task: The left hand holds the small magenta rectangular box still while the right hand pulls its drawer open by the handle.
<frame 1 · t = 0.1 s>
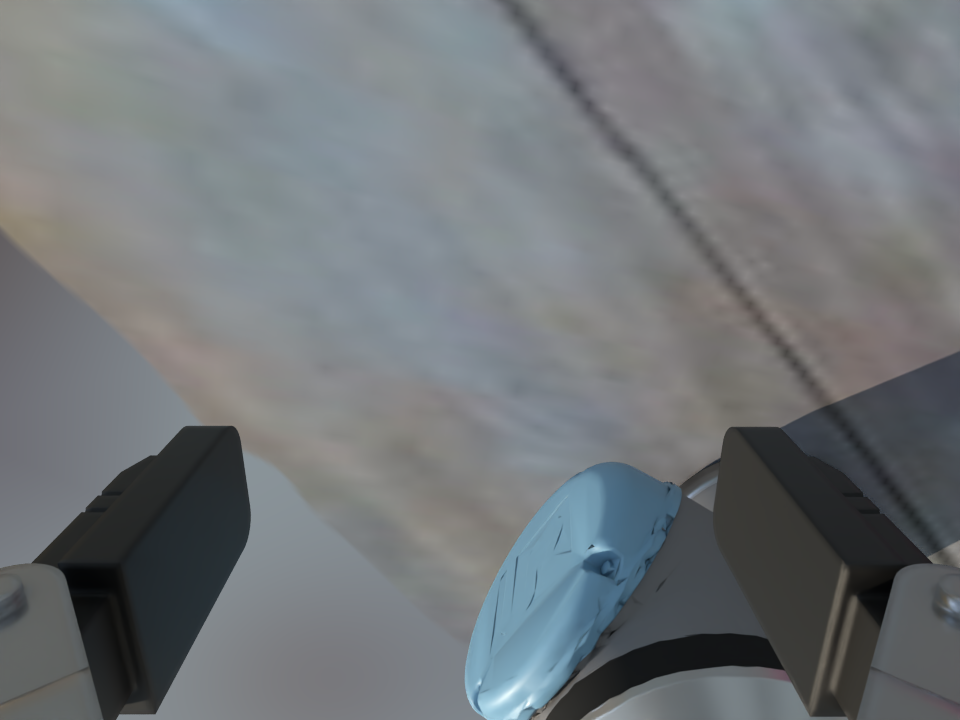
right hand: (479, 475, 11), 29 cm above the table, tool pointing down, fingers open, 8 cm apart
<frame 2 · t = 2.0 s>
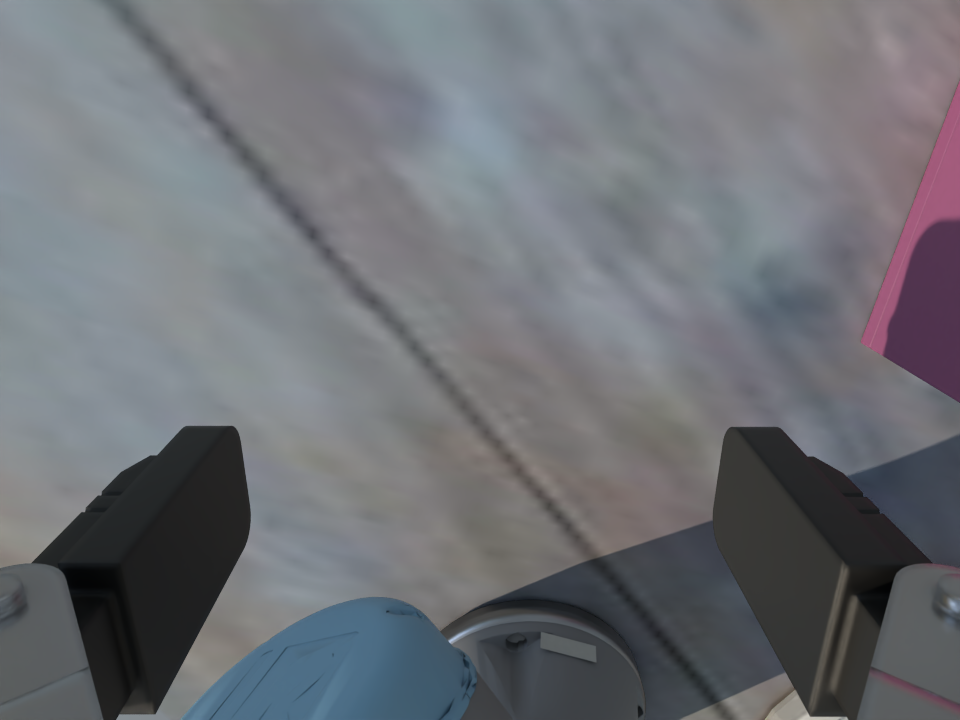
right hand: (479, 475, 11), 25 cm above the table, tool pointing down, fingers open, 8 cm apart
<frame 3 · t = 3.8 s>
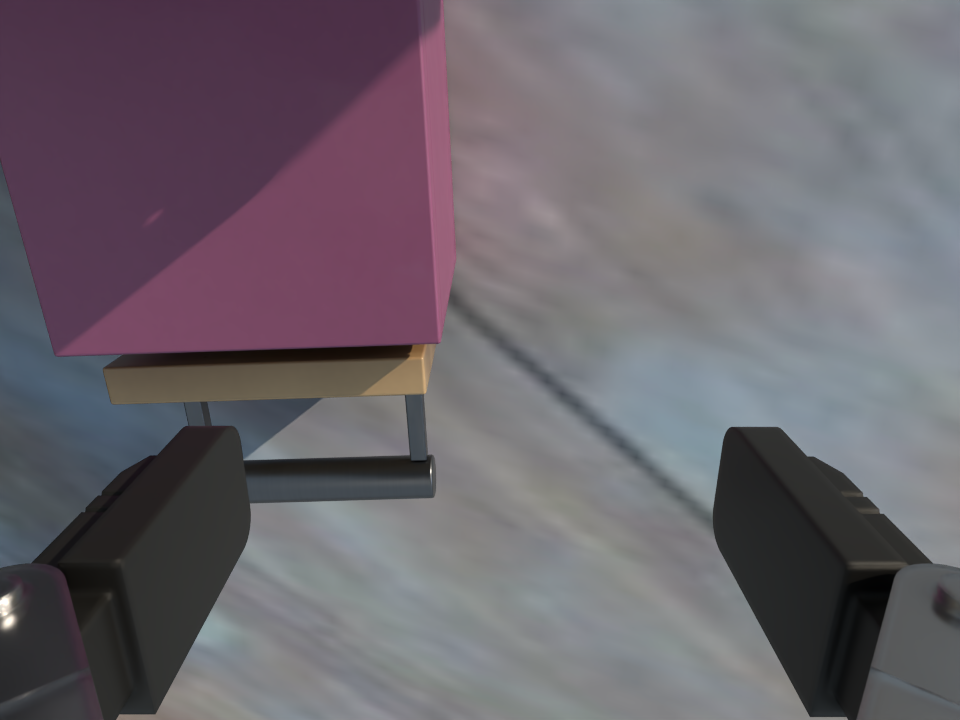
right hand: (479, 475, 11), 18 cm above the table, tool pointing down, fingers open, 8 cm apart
drawer: (287, 221, 22), point 5 cm above the table, slide at 0.7 cm
magenta rectangular box: (307, 59, 25), on the table, touching left hand
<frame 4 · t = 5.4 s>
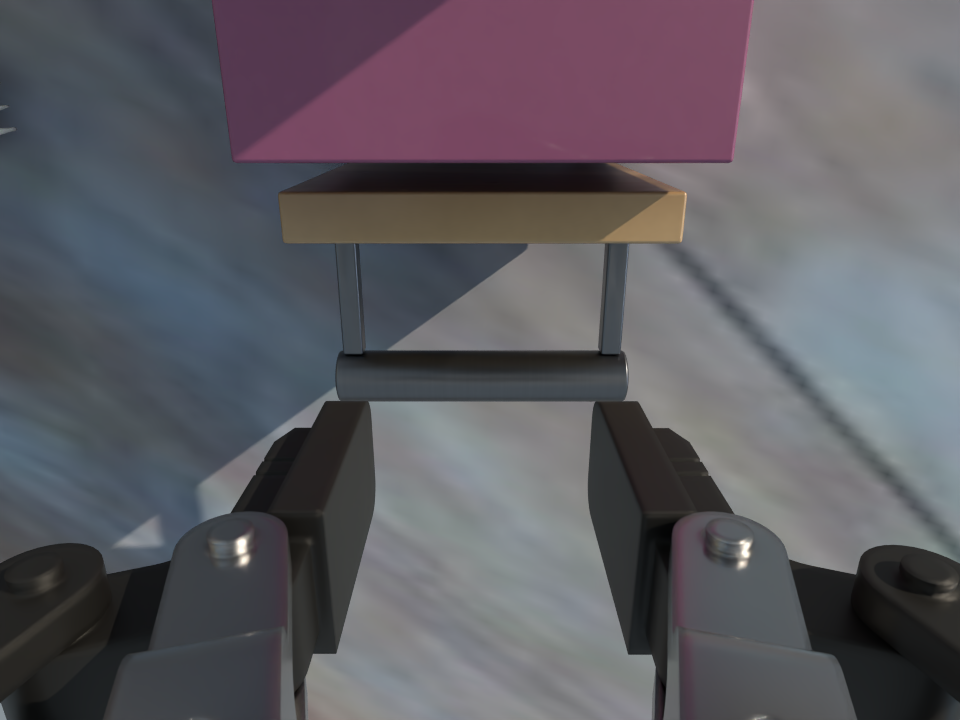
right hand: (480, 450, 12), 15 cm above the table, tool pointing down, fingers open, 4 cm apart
drawer: (482, 45, 18), point 5 cm above the table, slide at 0.7 cm
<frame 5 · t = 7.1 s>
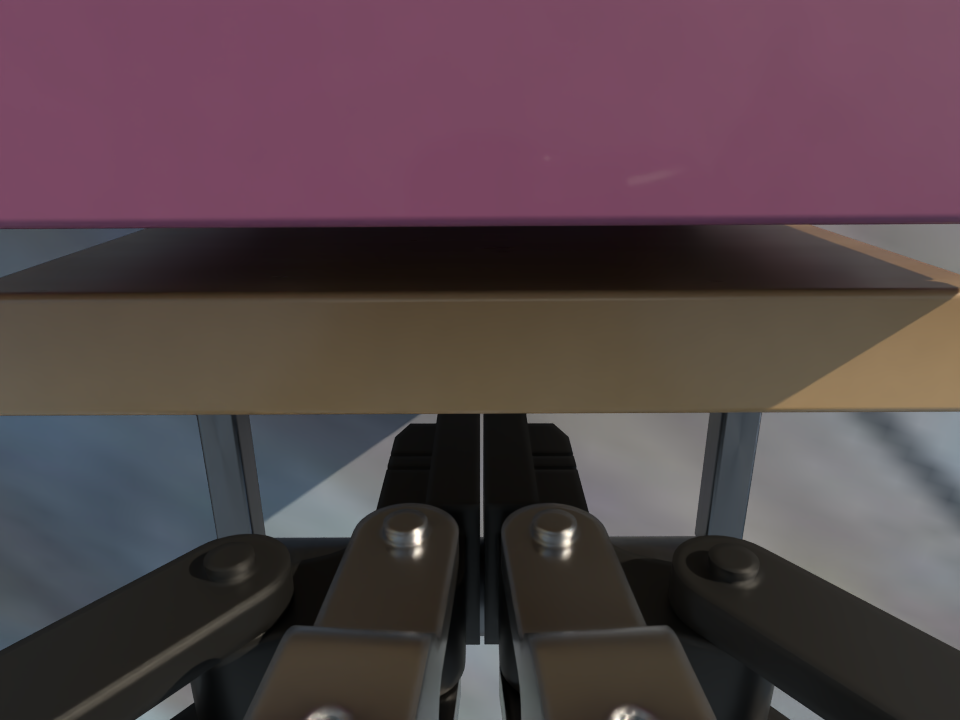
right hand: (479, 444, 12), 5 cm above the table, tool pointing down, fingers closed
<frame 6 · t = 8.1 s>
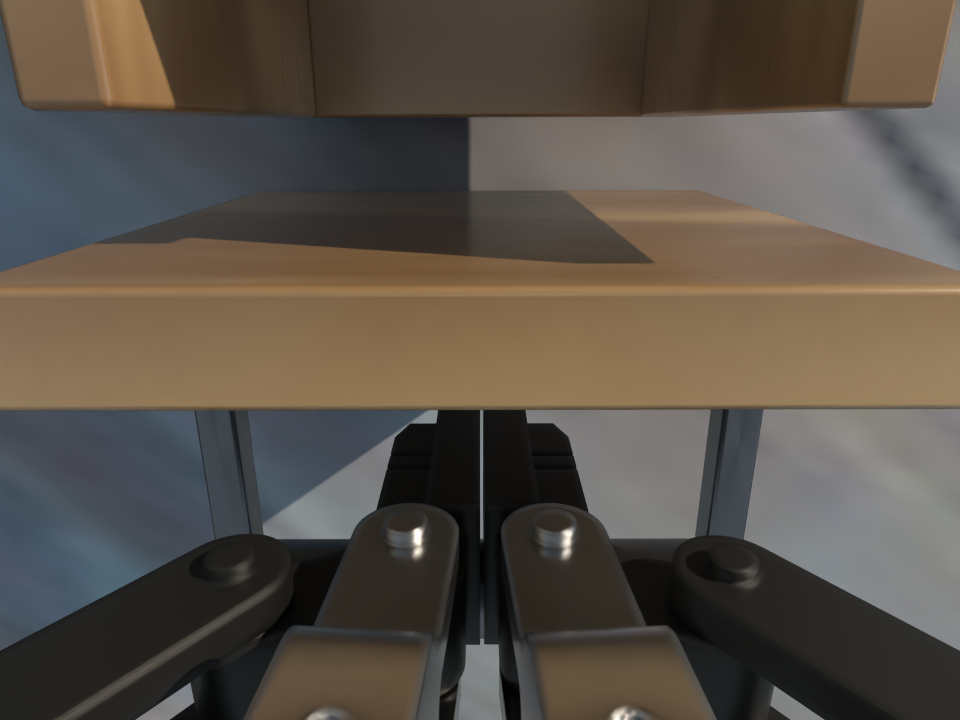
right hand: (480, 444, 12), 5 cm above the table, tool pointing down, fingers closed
when the left hand's fingers open (6 cm above the table, at t = 9.8 s): magenta rectangular box stays where it is, on the table.
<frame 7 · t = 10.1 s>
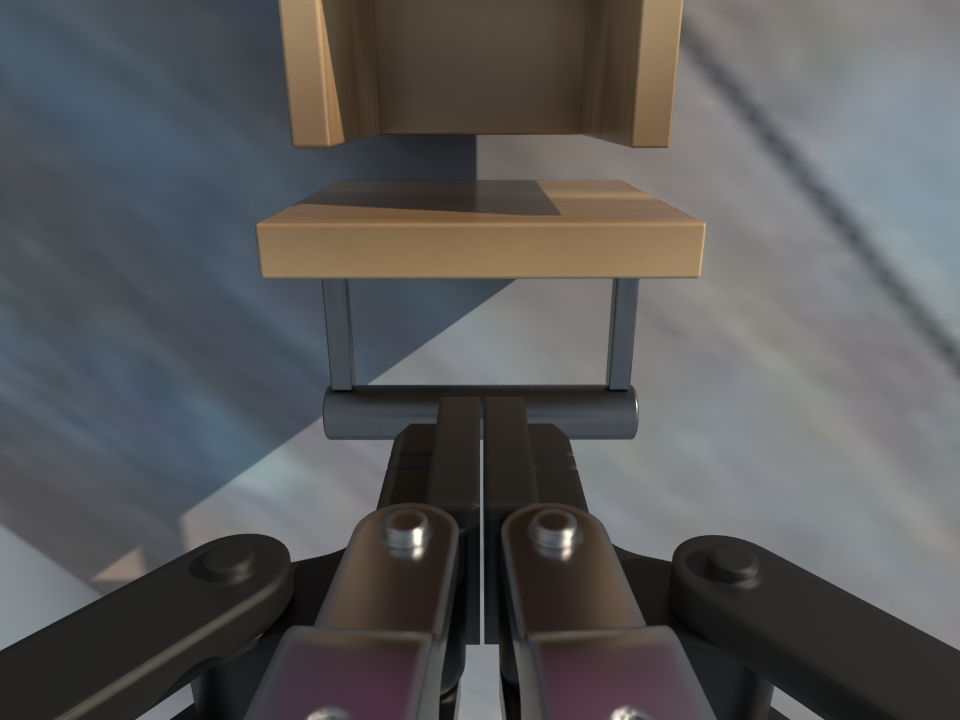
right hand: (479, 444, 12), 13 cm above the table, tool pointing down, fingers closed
drawer: (480, 58, 17), point 5 cm above the table, slide at 7.1 cm
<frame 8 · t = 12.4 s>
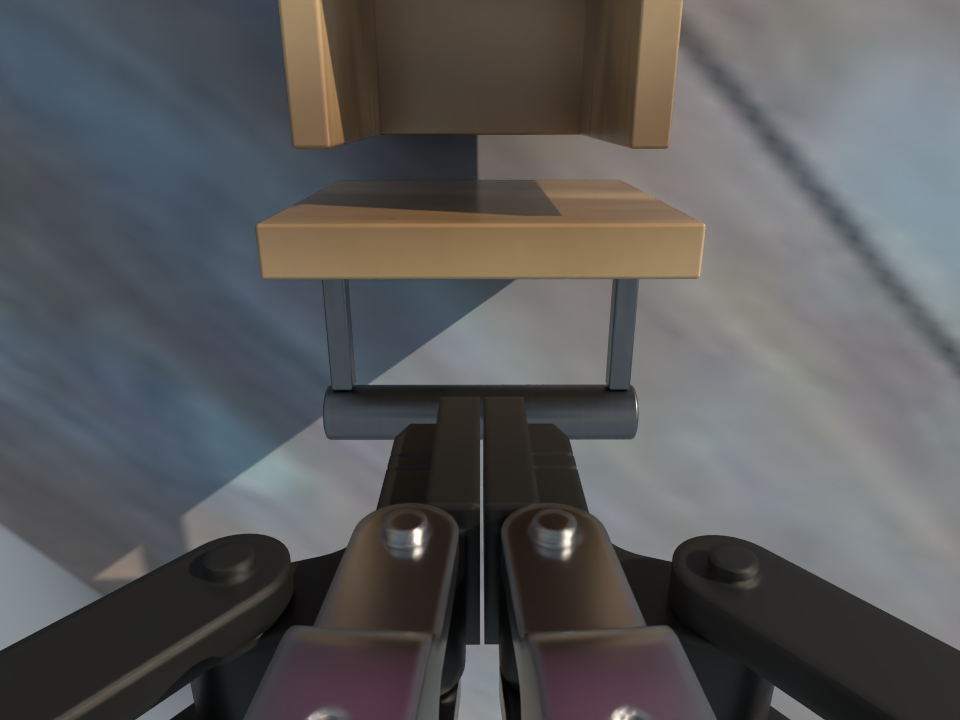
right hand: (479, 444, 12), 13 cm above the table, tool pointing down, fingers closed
drawer: (480, 59, 17), point 5 cm above the table, slide at 7.1 cm
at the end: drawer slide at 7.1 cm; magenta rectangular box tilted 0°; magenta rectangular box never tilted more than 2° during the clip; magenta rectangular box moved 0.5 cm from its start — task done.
